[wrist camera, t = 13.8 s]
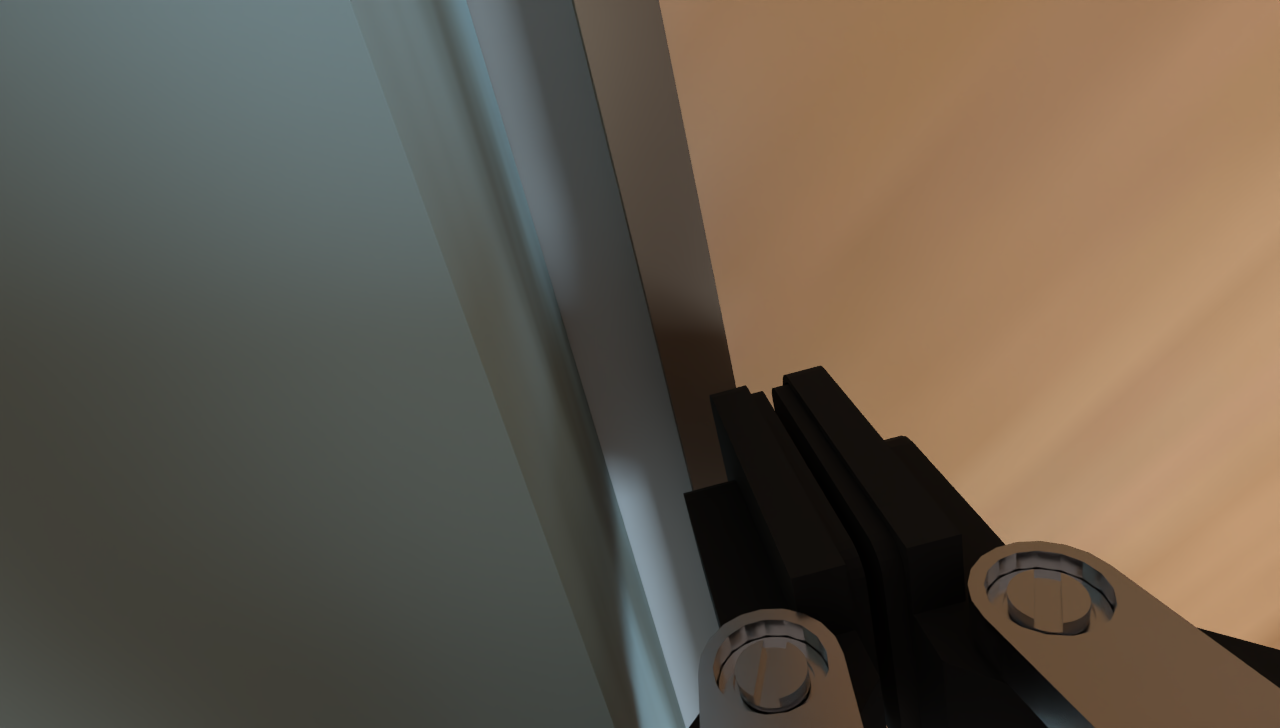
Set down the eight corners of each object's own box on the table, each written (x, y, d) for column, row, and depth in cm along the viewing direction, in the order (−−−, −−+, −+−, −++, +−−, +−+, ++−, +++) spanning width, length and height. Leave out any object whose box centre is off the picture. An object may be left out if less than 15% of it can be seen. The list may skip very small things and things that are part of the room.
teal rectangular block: (404, -205, 8) (99, -691, 3) (701, 781, 16) (775, 1170, 10) (-10, -98, 8) (-1098, -372, 3) (483, 836, 16) (441, 1253, 10)
